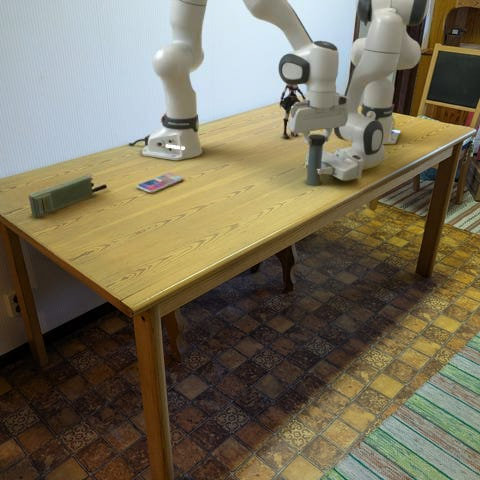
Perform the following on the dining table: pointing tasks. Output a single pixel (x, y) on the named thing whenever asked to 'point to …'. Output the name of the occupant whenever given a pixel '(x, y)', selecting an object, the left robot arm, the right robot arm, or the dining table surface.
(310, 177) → the jar
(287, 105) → the figurine
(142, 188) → the smartphone
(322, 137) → the lid
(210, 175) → the dining table surface
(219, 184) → the dining table surface
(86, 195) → the handheld radio
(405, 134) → the dining table surface
